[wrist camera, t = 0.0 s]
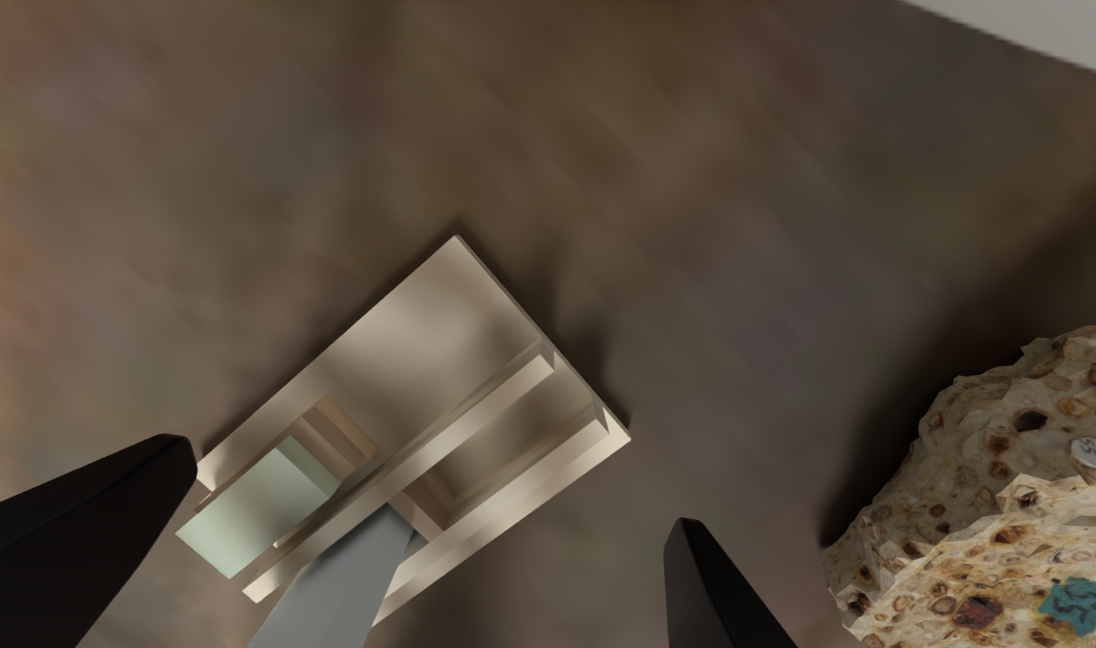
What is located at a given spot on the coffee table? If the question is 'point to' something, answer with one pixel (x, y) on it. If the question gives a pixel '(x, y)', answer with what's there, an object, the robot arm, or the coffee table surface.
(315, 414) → the offcut stack
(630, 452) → the coffee table surface
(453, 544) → the rack
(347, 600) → the sheet
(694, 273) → the coffee table surface
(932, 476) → the rock
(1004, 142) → the coffee table surface
